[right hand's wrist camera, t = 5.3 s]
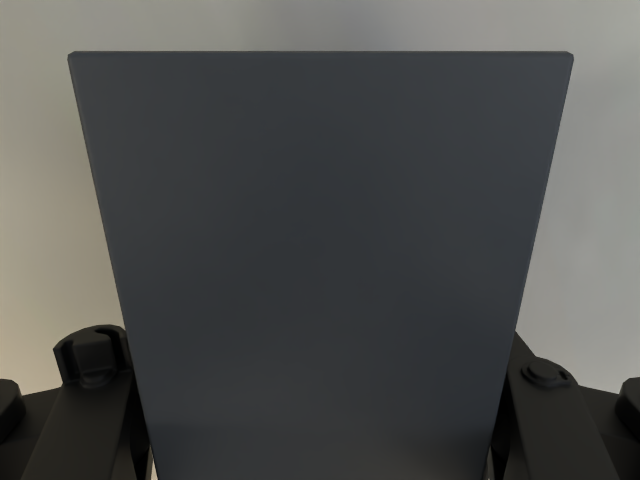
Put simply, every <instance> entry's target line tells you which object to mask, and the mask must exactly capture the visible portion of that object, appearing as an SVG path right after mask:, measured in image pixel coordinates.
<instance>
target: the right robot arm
mask: <svg viewBox="0 0 640 480" xmlns="http://www.w3.org/2000/svg"><path fill="white" fill-rule="evenodd" d="M53 351H54V355H55V358H56V361H57V365H58V368H59V371H60V375H61V378H62V381H63V384H62V386H61V387H59V388H56V389H51V390H47V391H42V392H37V393H33V394H28V395H23V396H22V395H21V392H20V389H19V386H18V384H17V383H15V382H14V381H12V380H8V379H0V480H151V473H152V464H153V457H152V451H151V446H150V441H149V436H148V432H147V427H146V422H145V418H144V413H143V408H142V404H141V399H140V394H139V390H138V385H137V380H136V376H135V371H134V367H133V362H132V357H131V353H130V348H129V343H128V339H127V334H126V331H125V330H124V329H123V328H121V327H120V326H115V325H96V326H92V327H88V328H84V329H81V330H79V331H76V332H74V333H72V334H70V335H68V336H67V337H65V338H64V339H62V340H61V341H59V342H58V344H57V345H56V346H55V347H54V348H53ZM488 479H489V480H640V377H637V378H629V379H628V380H626V381H625V382H623V384H622V387H621V390H620V393H619V394H615V393H611V392H606V391H601V390H597V389H592V388H587V387H584V386H580V385H578V383H577V381H576V380H575V379H574V377H573V376H572V374H571V373H569V372H568V371H567V370H565V369H564V368H563V367H561V366H560V365H558V364H556V363H554V362H552V361H549V360H547V359H543V358H540V357H536V356H535V355H534V354H533V352H532V351H531V350H530V349H529V347H528V346H527V345H526V344H525V342H524V341H523V340H522V339H521V337H520V336H519V335H518V334H517V332H516V331H515V333H514V338H513V342H512V347H511V352H510V356H509V361H508V366H507V370H506V375H505V379H504V384H503V389H502V393H501V398H500V402H499V407H498V412H497V416H496V421H495V425H494V430H493V435H492V439H491V444H490V449H489V453H488V458H487V462H486V467H485V472H484V476H483V480H488Z"/></svg>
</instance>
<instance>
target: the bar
mask: <svg viewBox="0 0 640 480" xmlns="http://www.w3.org/2000/svg"><path fill="white" fill-rule="evenodd" d="M67 60H68V65H69V69H70V74H71V79H72V83H73V88H74V93H75V97H76V102H77V106H78V111H79V116H80V120H81V125H82V130H83V134H84V139H85V144H86V148H87V153H88V158H89V162H90V167H91V171H92V176H93V181H94V185H95V190H96V195H97V199H98V204H99V209H100V213H101V218H102V223H103V227H104V232H105V237H106V241H107V246H108V250H109V255H110V260H111V264H112V269H113V274H114V278H115V283H116V288H117V292H118V297H119V302H120V306H121V311H122V315H123V320H124V325H125V329H126V334H127V339H128V343H129V348H130V353H131V357H132V362H133V367H134V371H135V376H136V380H137V385H138V390H139V394H140V399H141V404H142V408H143V413H144V418H145V422H146V427H147V432H148V436H149V441H150V446H151V450H152V455H153V459H154V464H155V469H156V473H157V478H158V480H483V476H484V472H485V467H486V462H487V458H488V453H489V449H490V444H491V439H492V435H493V430H494V425H495V421H496V416H497V412H498V407H499V402H500V398H501V393H502V389H503V384H504V379H505V375H506V370H507V366H508V361H509V356H510V352H511V347H512V342H513V338H514V333H515V329H516V324H517V319H518V315H519V310H520V306H521V301H522V296H523V292H524V287H525V283H526V278H527V273H528V269H529V264H530V260H531V255H532V250H533V246H534V241H535V236H536V232H537V227H538V223H539V218H540V213H541V209H542V204H543V200H544V195H545V190H546V186H547V181H548V177H549V172H550V167H551V163H552V158H553V153H554V149H555V144H556V140H557V135H558V130H559V126H560V121H561V117H562V112H563V107H564V103H565V98H566V94H567V89H568V84H569V80H570V75H571V70H572V66H573V61H574V57H573V54H571V53H569V52H567V51H74V52H72V53H70V54H68V59H67Z"/></svg>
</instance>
